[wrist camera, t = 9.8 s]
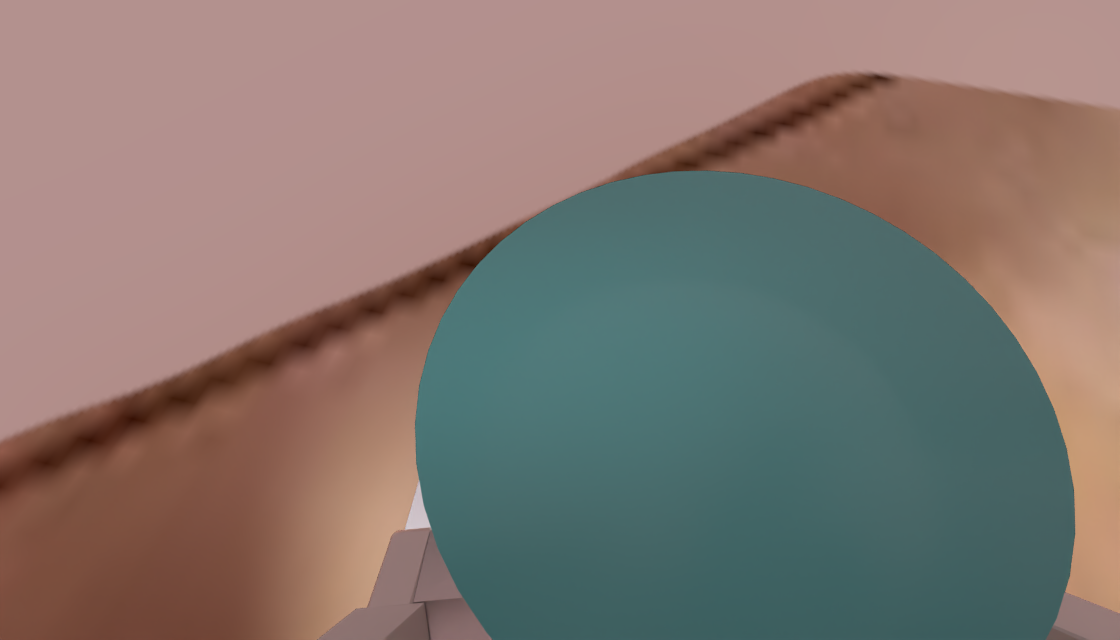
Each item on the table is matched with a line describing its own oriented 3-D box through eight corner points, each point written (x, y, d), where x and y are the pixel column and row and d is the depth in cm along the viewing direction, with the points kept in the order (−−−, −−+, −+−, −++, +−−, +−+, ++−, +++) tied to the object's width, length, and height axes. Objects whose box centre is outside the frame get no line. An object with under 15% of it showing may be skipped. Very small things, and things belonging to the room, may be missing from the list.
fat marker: (717, 552, 15) (1006, 203, 5) (707, 763, 13) (1170, 874, 3) (544, 522, 15) (496, 144, 5) (506, 720, 13) (317, 691, 3)
